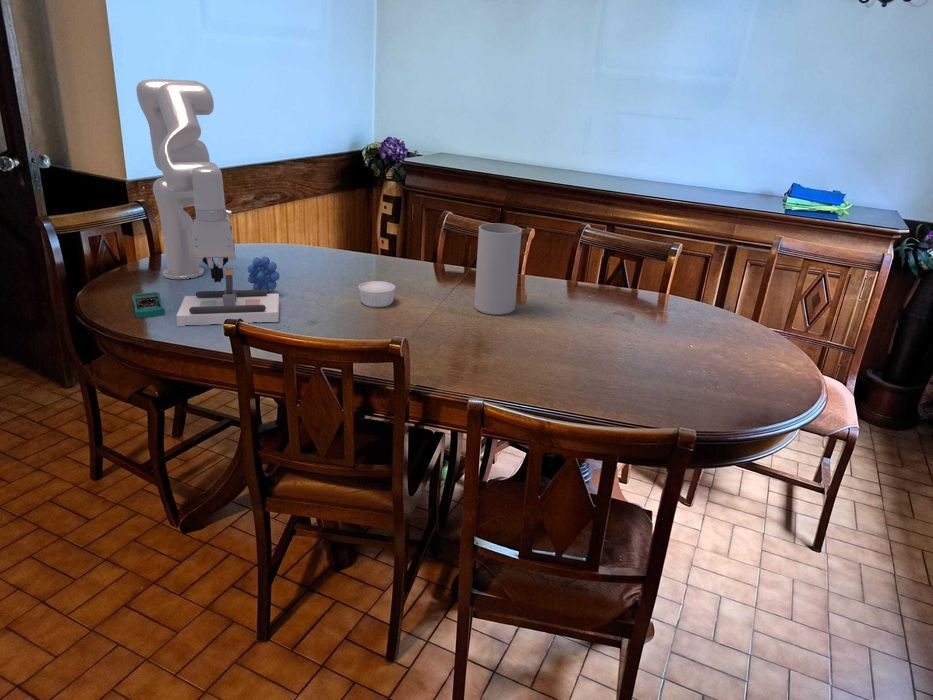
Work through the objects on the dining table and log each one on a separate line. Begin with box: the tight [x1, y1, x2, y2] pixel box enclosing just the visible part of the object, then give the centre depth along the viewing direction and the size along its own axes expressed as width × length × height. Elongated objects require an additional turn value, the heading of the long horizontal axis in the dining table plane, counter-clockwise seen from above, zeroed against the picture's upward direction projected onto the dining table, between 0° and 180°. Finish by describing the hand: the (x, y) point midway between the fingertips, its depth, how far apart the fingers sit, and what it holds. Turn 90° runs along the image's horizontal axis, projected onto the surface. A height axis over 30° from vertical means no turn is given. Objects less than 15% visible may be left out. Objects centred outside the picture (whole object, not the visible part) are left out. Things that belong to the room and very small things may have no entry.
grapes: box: [247, 255, 280, 293], centre depth 200 cm, size 12×7×12 cm, turn 68°
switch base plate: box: [176, 288, 280, 327], centre depth 183 cm, size 16×26×6 cm, turn 104°
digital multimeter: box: [131, 291, 166, 319], centre depth 185 cm, size 7×15×3 cm, turn 28°
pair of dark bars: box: [189, 289, 269, 314], centre depth 183 cm, size 15×20×2 cm
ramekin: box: [358, 280, 396, 308], centre depth 199 cm, size 11×11×5 cm
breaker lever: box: [224, 267, 235, 296], centre depth 181 cm, size 3×2×10 cm
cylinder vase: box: [473, 222, 523, 316], centre depth 195 cm, size 12×12×25 cm
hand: (218, 280), depth 180 cm, fingers closed
